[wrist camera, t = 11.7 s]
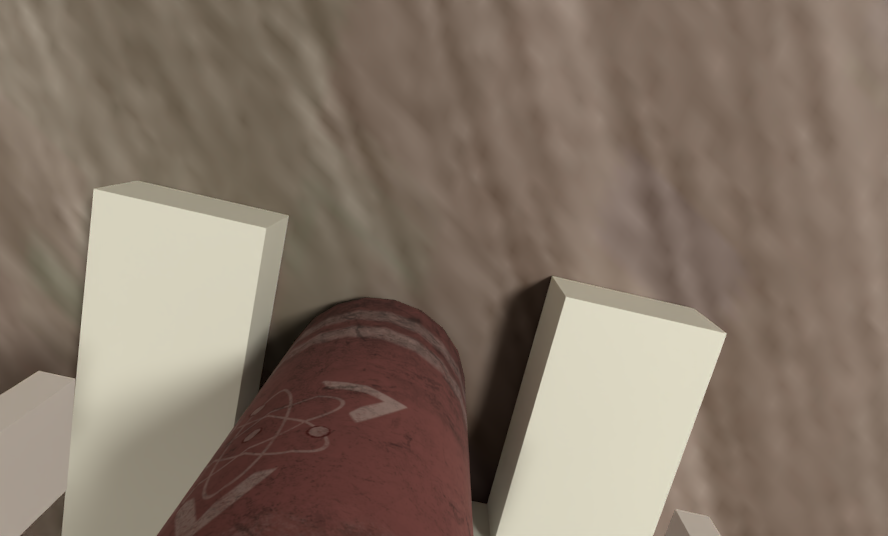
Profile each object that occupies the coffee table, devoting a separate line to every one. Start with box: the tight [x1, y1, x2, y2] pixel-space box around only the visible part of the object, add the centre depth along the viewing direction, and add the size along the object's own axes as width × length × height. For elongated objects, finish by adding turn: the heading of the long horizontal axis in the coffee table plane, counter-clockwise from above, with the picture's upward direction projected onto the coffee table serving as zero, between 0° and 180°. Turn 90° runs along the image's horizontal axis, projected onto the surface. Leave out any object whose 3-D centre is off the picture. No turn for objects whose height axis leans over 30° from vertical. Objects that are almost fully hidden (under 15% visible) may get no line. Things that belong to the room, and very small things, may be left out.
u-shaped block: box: [61, 181, 727, 536], centre depth 20 cm, size 15×19×2 cm
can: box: [157, 298, 473, 536], centre depth 14 cm, size 6×6×14 cm
